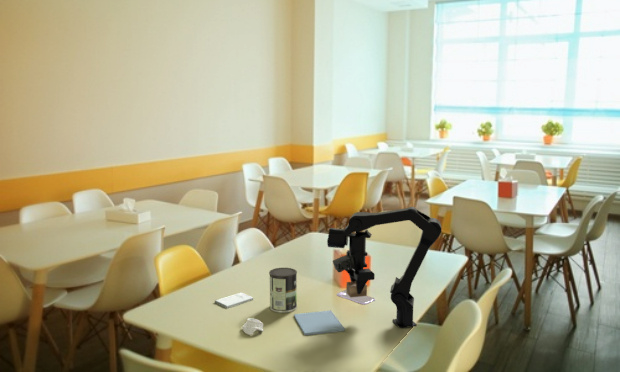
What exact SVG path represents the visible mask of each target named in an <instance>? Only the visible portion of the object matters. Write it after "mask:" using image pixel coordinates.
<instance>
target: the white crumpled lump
mask: <svg viewBox="0 0 620 372" xmlns="http://www.w3.org/2000/svg"><path fill="white" fill-rule="evenodd" d="M263 327H264V323H263V322H261V320H259V319H257V318H253V317H252V318H251V317H250V318H249V317H248V318H247V319H246V322H245V323H244V324H243V325H242V327H241V328H242V331H243V332H244V333H245V334H246V335H249V336H253V334H254V332H256V331H257V330H258V331H260V332H264V329H263Z"/></svg>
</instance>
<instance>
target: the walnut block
mask: <svg viewBox="0 0 620 372" xmlns="http://www.w3.org/2000/svg"><path fill="white" fill-rule="evenodd" d="M367 289H368V284H366V285H365V286H364V288H363V290H362V292H361V294H357V288H356V281H354V282H351V281H347V282H346V289H345V290H346V293H347V294H348V295H349V296H350V297H361V296H368V293H367V292H368V290H367Z"/></svg>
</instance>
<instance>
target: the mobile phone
mask: <svg viewBox="0 0 620 372" xmlns="http://www.w3.org/2000/svg"><path fill="white" fill-rule="evenodd" d="M336 296H338V297H340V298H343V299H346V300H349V301H353V302H354V303H357V304H361V305H368V304H370V303H372V302H375V301H376V298H375V297H372V296H369V295H367V296H361V297H350V296H349V295H348V294H347V293H346V289H345V290H342V291H339V292H337V293H336Z"/></svg>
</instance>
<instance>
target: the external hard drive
mask: <svg viewBox="0 0 620 372" xmlns="http://www.w3.org/2000/svg"><path fill="white" fill-rule="evenodd" d="M251 301H254V297H253V296H251V295H248V294H246V293H244V292H241V291H240V292H238V293H234V294H231V295H229V296H225V297H222V298H218V299H215V300H214V303H215V304H217V305H219V306H221V307H223V308H225V309H230V308H233V307H236V306H238V305H239V306H240V305H242V304H244V303H248V302H251Z"/></svg>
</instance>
